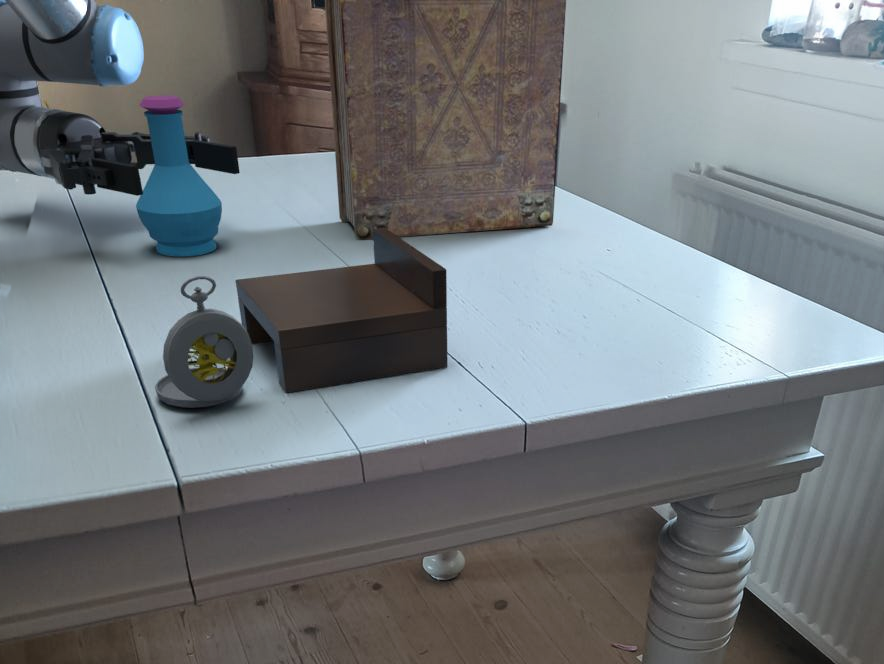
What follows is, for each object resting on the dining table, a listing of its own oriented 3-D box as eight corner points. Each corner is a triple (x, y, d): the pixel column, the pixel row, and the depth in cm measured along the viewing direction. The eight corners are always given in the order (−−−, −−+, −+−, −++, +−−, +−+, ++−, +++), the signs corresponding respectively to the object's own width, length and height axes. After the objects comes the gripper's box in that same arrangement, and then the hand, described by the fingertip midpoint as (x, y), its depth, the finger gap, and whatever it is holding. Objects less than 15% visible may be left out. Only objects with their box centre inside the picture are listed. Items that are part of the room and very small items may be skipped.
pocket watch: (190, 374, 76) (167, 246, 70) (279, 390, 74) (263, 259, 68) (126, 412, 70) (94, 275, 64) (220, 430, 68) (197, 291, 62)
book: (353, 240, 109) (332, -81, 91) (339, 221, 116) (316, -81, 98) (553, 226, 116) (571, -77, 97) (529, 209, 123) (540, -77, 104)
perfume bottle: (185, 264, 101) (158, 107, 92) (127, 251, 105) (95, 98, 95) (244, 245, 107) (224, 96, 98) (187, 233, 111) (162, 89, 102)
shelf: (286, 393, 73) (273, 290, 68) (243, 336, 83) (229, 243, 78) (447, 367, 78) (446, 269, 73) (389, 316, 88) (384, 227, 83)
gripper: (156, 165, 119) (275, 188, 110) (-22, 200, 103) (100, 230, 94) (144, 98, 115) (267, 116, 106) (-45, 124, 99) (81, 148, 89)
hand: (189, 170), depth 100 cm, fingers open, 13 cm apart
